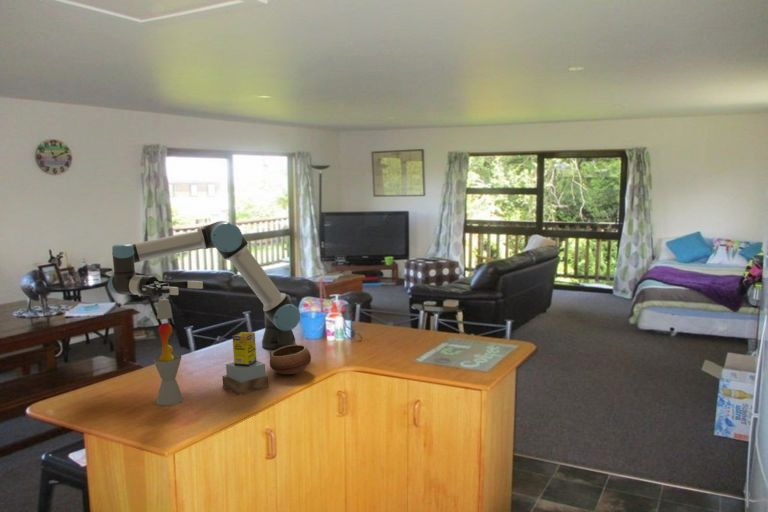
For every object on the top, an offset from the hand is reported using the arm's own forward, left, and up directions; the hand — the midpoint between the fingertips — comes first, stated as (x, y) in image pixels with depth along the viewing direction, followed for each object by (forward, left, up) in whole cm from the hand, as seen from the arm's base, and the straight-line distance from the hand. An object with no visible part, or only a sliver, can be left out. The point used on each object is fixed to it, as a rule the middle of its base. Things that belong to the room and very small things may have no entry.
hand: (190, 288), depth 217 cm
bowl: (-30, +18, -35) cm, 50 cm away
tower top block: (-10, +21, -31) cm, 39 cm away
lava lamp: (+16, +15, -35) cm, 41 cm away
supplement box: (-10, +21, -27) cm, 35 cm away
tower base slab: (-10, +21, -36) cm, 42 cm away
